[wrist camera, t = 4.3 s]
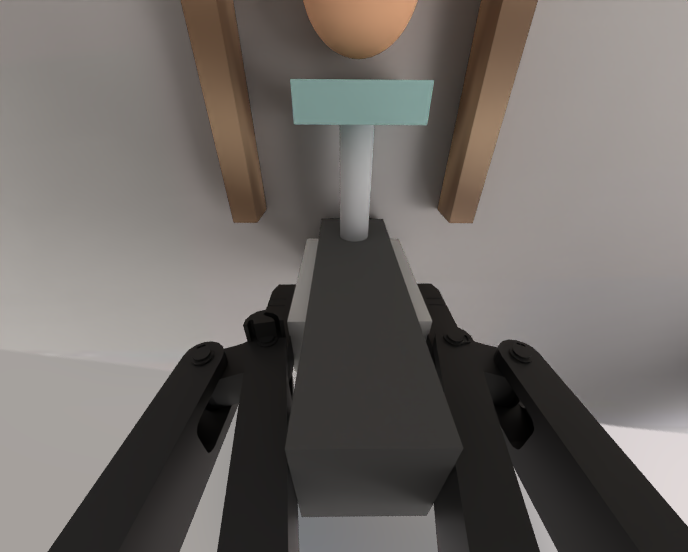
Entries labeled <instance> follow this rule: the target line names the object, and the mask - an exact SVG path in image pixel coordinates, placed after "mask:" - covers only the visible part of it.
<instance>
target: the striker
mask: <svg viewBox="0 0 688 552" xmlns="http://www.w3.org/2000/svg"><path fill="white" fill-rule="evenodd" d="M290 84H291V96H292V107H293V119H294V124H314V125H340V219H322V221H321V227H320V234H319V240H318V246H317V252H316V258H315V265H314V271H313V277H312V283H311V289H310V296H309V302H308V308H307V314H306V320H305V327H304V333H303V339H302V345H301V351H300V358H299V364H298V370H297V376H296V383H295V389H294V395H293V401H292V407H291V414H290V420H289V426H288V432H287V438H286V445H285V453H286V457H287V461H288V465H289V469H290V473H291V477H292V481H293V485H294V489H295V493H296V497H297V500H298V504H299V508H300V512H301V516H302V517H334V516H335V517H337V516H426V515H427V514H428V512H429V511H430V509H431V507H432V505H433V503H434V501H435V500H436V498H437V496H438V494H439V492H440V490H441V489H442V487H443V485H444V483H445V481H446V479H447V478H448V476H449V474H450V472H451V470H452V469H453V467H454V465H455V463H456V461H457V459H458V458H459V456H460V454H461V452H462V450H463V446H462V443H461V440H460V437H459V434H458V431H457V429H456V426H455V423H454V420H453V417H452V414H451V412H450V409H449V406H448V403H447V400H446V397H445V394H444V392H443V389H442V386H441V383H440V380H439V377H438V375H437V372H436V369H435V366H434V363H433V360H432V358H431V355H430V352H429V349H428V346H427V343H426V340H425V338H424V335H423V332H422V329H421V326H420V323H419V321H418V318H417V315H416V312H415V309H414V306H413V303H412V301H411V298H410V295H409V292H408V289H407V286H406V284H405V281H404V278H403V275H402V272H401V269H400V267H399V264H398V261H397V258H396V255H395V252H394V249H393V247H392V244H391V241H390V238H389V235H388V232H387V230H386V227H385V224H384V221H383V219H369V209H370V193H371V177H372V160H373V144H374V128H375V125H427V123H428V117H429V110H430V104H431V98H432V91H433V85H434V80H357V79H290Z"/></svg>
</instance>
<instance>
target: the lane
mask: <svg viewBox="0 0 688 552" xmlns="http://www.w3.org/2000/svg"><path fill="white" fill-rule="evenodd" d="M537 2H538V0H481V3H480V8H479V13H478V18H477V22H476V27H475V32H474V37H473V42H472V46H471V51H470V56H469V61H468V66H467V70H466V75H465V80H464V85H463V90H462V94H461V99H460V104H459V109H458V114H457V118H456V123H455V128H454V133H453V138H452V142H451V147H450V152H449V157H448V162H447V166H446V171H445V176H444V181H443V186H442V190H441V195H440V200H439V205H438V211H439V212H440V213H441V214H442V215H443V216H444V218H445V219H446V220H447V221H448V222H449V223H473V220H474V217H475V213H476V210H477V207H478V203H479V200H480V196H481V193H482V189H483V186H484V183H485V179H486V176H487V172H488V169H489V166H490V162H491V159H492V155H493V152H494V148H495V145H496V142H497V138H498V135H499V131H500V128H501V125H502V121H503V118H504V114H505V111H506V107H507V104H508V101H509V97H510V94H511V90H512V87H513V84H514V80H515V77H516V73H517V70H518V67H519V63H520V60H521V56H522V53H523V49H524V46H525V43H526V39H527V36H528V32H529V29H530V26H531V22H532V19H533V15H534V12H535V8H536V5H537ZM181 4H182V8H183V12H184V16H185V21H186V25H187V29H188V33H189V37H190V42H191V46H192V50H193V54H194V58H195V62H196V67H197V71H198V75H199V79H200V83H201V88H202V92H203V96H204V100H205V104H206V109H207V113H208V117H209V121H210V125H211V130H212V134H213V138H214V142H215V146H216V151H217V155H218V159H219V163H220V167H221V171H222V176H223V180H224V184H225V188H226V192H227V197H228V201H229V205H230V209H231V213H232V218H233V222H234V223H257V222H258V221H259V220H260V218H261V217H262V215H263V214H264V212H265V211H266V209H267V208H266V202H265V196H264V190H263V183H262V177H261V171H260V165H259V158H258V152H257V146H256V140H255V134H254V127H253V121H252V115H251V109H250V102H249V96H248V90H247V84H246V77H245V71H244V65H243V59H242V53H241V46H240V40H239V34H238V28H237V21H236V15H235V9H234V3H233V0H181Z"/></svg>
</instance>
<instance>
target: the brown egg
mask: <svg viewBox="0 0 688 552" xmlns="http://www.w3.org/2000/svg"><path fill="white" fill-rule="evenodd" d="M417 1H418V0H303V2H304V6H305V9H306V12H307V15H308V17H309V20H310V22H311V24H312V26H313V28H314V30H315V31H316V33H317V34H318V35H319V37H320V38H321V39H322V41H323V42H324V43H325V44H326V45H327V46H328V47H329V48H331V49H332V50H333V51H335V52H336V53H338V54H340V55H342V56H344V57H348V58H352V59H365V58H369V57H373V56H375V55H377V54H379V53H381V52H383V51H384V50H386V49H387V48H388V47H390V46H391V45H392V44H393V43H394V42H395V41H396V40H397V39H398V38H399V36H400V35H401V34H402V32H403V31H404V29H405V28H406V26H407V24H408V23H409V21H410V19H411V16H412V14H413V12H414V10H415V7H416V4H417Z"/></svg>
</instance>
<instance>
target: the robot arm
mask: <svg viewBox="0 0 688 552" xmlns="http://www.w3.org/2000/svg"><path fill="white" fill-rule="evenodd" d="M318 240H319V239H307V242H306V246H305V250H304V254H303V258H302V263H301V267H300V271H299V275H298V279H297V283H296V285H278V286H277V287H276V288H275V289H274V290H273V292H272V294H271V297H270V300H269V303H268V307H267V308H266V310H263V311H258V312H256V313H254V314H252V315H250V316H249V317H248V318H247V319H246V320H245V322H244V324H243V327H244V330H245V334H246V337H247V342H245V343H243V344H240V345H237V346H233V347H229V348H225V349H223V346H222V345H220V344H219V343H217V342H204V343H201V344H198V345H196V346H194V347H193V348H191V349H189V350H188V351H187V352H186V354H185V355H184V356H183V357H182V359H181V360H180V361H179V363H178V364H177V366H176V367H175V369H174V370H173V372H172V373H171V375H170V376H169V378H168V379H167V380H166V382H165V383H164V385H163V386H162V388H161V389H160V390H159V392H158V393H157V395H156V396H155V398H154V399H153V400H152V402H151V403H150V405H149V406H148V408H147V409H146V411H145V412H144V414H143V415H142V416H141V418H140V419H139V421H138V422H137V424H136V425H135V426H134V428H133V429H132V431H131V433H130V434H129V435H128V437H127V438H126V440H125V441H124V442H123V444H122V445H121V447H120V448H119V450H118V451H117V453H116V454H115V455H114V457H113V458H112V460H111V461H110V463H109V464H108V466H107V467H106V468H105V470H104V471H103V473H102V474H101V476H100V477H99V478H98V480H97V481H96V483H95V484H94V486H93V487H92V489H91V490H90V491H89V493H88V495H87V496H86V497H85V499H84V500H83V502H82V503H81V505H80V506H79V507H78V509H77V510H76V512H75V513H74V515H73V516H72V517H71V519H70V520H69V522H68V523H67V525H66V526H65V528H64V529H63V531H62V532H61V533H60V535H59V536H58V538H57V539H56V541H55V542H54V543H53V545H52V546H51V548H50V549H49V551H48V552H180V549H181V547H182V544H183V542H184V539H185V537H186V534H187V532H188V529H189V526H190V524H191V522H192V519H193V517H194V514H195V512H196V509H197V507H198V504H199V502H200V499H201V497H202V494H203V492H204V489H205V487H206V484H207V482H208V479H209V477H210V474H211V472H212V469H213V467H214V464H215V461H216V459H217V457H218V454H219V452H220V449H221V446H222V444H223V441H224V439H225V437H226V434H227V432H228V429H229V427H230V424H231V422H232V419H233V417H234V414H235V412H236V409H237V407H238V413H237V420H236V427H235V434H234V441H233V447H232V454H231V461H230V468H229V475H228V481H227V488H226V496H225V502H224V508H223V516H222V523H221V529H220V536H219V544H218V549H217V552H299V529H298V500H297V497H296V493H295V489H294V485H293V481H292V477H291V473H290V469H289V465H288V461H287V457H286V453H285V445H286V438H287V432H288V426H289V420H290V414H291V407H292V401H293V395H294V385H293V376H292V372H293V366H294V369H295V371H297V370H298V364H299V358H300V351H301V345H302V339H303V333H304V327H305V320H306V314H307V308H308V302H309V296H310V289H311V283H312V277H313V271H314V265H315V258H316V252H317V246H318ZM390 241H391V244H392V247H393V249H394V252H395V255H396V258H397V261H398V264H399V267H400V269H401V272H402V275H403V278H404V281H405V284H406V286H407V289H408V292H409V295H410V298H411V301H412V303H413V306H414V309H415V312H416V315H417V318H418V321H419V323H420V326H421V329H422V332H423V335H424V338H425V340H426V343H427V346H428V349H429V352H430V355H431V358H432V360H433V363H434V366H435V369H436V372H437V375H438V377H439V380H440V383H441V386H442V389H443V392H444V394H445V397H446V400H447V403H448V406H449V409H450V412H451V414H452V417H453V420H454V423H455V426H456V429H457V431H458V434H459V437H460V440H461V443H462V446H463V450H462V452H461V454H460V456H459V458H458V459H457V461H456V463H455V465H454V467H453V469H452V470H451V472H450V474H449V476H448V478H447V479H446V481H445V483H444V485H443V487H442V489H441V490H440V492H439V494H438V496H437V498H436V500H435V501H434V511H435V523H436V534H437V545H438V552H540V550H539V547H538V544H537V541H536V538H535V534H534V531H533V528H532V525H531V522H530V519H529V515H528V512H527V509H526V506H525V503H524V499H523V496H522V493H521V490H520V487H519V484H518V481H517V477H516V474H515V471H514V468H515V470H516V472H517V474H518V476H519V478H520V480H521V482H522V484H523V486H524V488H525V489H526V491H527V493H528V495H529V497H530V499H531V501H532V503H533V505H534V507H535V509H536V510H537V512H538V514H539V516H540V518H541V520H542V522H543V524H544V526H545V528H546V529H547V531H548V533H549V535H550V537H551V539H552V541H553V543H554V545H555V547H556V549H557V550H558V552H688V526H687V525H686V524H685V523H684V522H683V521H682V520H681V518H680V517H679V516H678V515H677V513H676V512H675V511H674V510H673V509H672V508H671V506H670V505H669V504H668V503H667V502H666V501H665V499H664V498H663V497H662V496H661V495H660V494H659V493H658V491H657V490H656V489H655V488H654V487H653V486H652V484H651V483H650V482H649V481H648V480H647V479H646V477H645V476H644V475H643V474H642V473H641V472H640V471H639V469H638V468H637V467H636V466H635V465H634V464H633V462H632V461H631V460H630V459H629V458H628V457H627V455H626V454H625V453H624V452H623V451H622V449H621V448H620V447H619V446H618V445H617V444H616V443H615V441H614V440H613V439H612V438H611V437H610V435H609V434H608V433H607V432H606V431H605V430H604V428H603V427H602V426H601V425H600V424H599V423H598V421H597V420H596V419H595V418H594V417H593V416H592V414H591V413H590V412H589V411H588V410H587V409H586V407H585V406H584V405H583V404H582V403H581V402H580V400H579V399H578V398H577V397H576V396H575V395H574V393H573V392H572V391H571V390H570V389H569V388H568V387H567V385H566V384H565V383H564V382H563V381H562V380H561V378H560V377H559V376H558V375H557V374H556V373H555V371H554V370H553V369H552V368H551V367H550V366H549V364H548V363H547V362H546V361H545V360H544V359H543V357H542V356H541V355H540V354H539V353H538V352H537V351H536V350H535V349H534V348H532V347H531V346H529V345H527V344H525V343H523V342H520V341H517V340H505V341H502V342H501V343H500V344H499V346H498V348H497V347H493V346H489V345H485V344H481V343H478V342H475V341H473V339H472V337H471V336H470V335H469V334H468V333H467V332H466V331H464V330H462V329H460V328H458V327H457V325H456V323H455V321H454V319H453V317H452V315H451V313H450V311H449V309H448V307H447V305H446V304H445V302H444V300H443V299H442V296H441V294H440V292H439V290H438V289H437V288H435V287H434V286H433V285H432V284H417V283H416V280H415V278H414V276H413V273H412V271H411V268H410V266H409V263H408V261H407V259H406V256H405V254H404V251H403V249H402V246H401V244H400V242H399V239H390ZM238 404H239V406H238ZM513 467H514V468H513Z"/></svg>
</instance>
